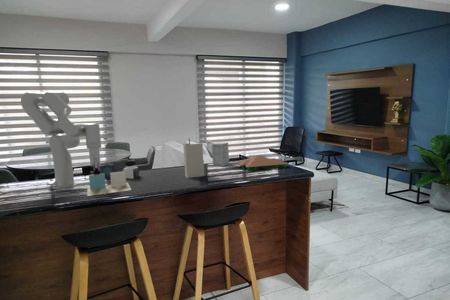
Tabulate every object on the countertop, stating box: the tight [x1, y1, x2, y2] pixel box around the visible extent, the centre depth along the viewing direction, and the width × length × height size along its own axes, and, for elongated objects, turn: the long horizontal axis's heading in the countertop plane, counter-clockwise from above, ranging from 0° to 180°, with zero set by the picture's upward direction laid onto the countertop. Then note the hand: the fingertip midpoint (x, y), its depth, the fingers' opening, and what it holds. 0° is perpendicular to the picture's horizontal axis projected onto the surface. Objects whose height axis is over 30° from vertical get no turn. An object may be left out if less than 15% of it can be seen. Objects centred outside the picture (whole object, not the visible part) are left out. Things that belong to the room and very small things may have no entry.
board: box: [86, 182, 132, 197], centre depth 167 cm, size 22×18×1 cm
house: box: [237, 155, 289, 172], centre depth 218 cm, size 23×33×8 cm
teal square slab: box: [88, 174, 107, 190], centre depth 168 cm, size 8×2×8 cm, turn 114°
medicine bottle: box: [122, 159, 140, 180], centre depth 193 cm, size 7×7×12 cm
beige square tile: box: [109, 170, 127, 187], centre depth 172 cm, size 8×2×8 cm, turn 114°
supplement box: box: [211, 141, 230, 167], centre depth 228 cm, size 10×9×17 cm
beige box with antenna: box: [182, 138, 205, 179], centre depth 195 cm, size 8×12×26 cm
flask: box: [99, 161, 115, 180], centre depth 197 cm, size 9×3×11 cm, turn 110°
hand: (97, 177), depth 171 cm, fingers closed
